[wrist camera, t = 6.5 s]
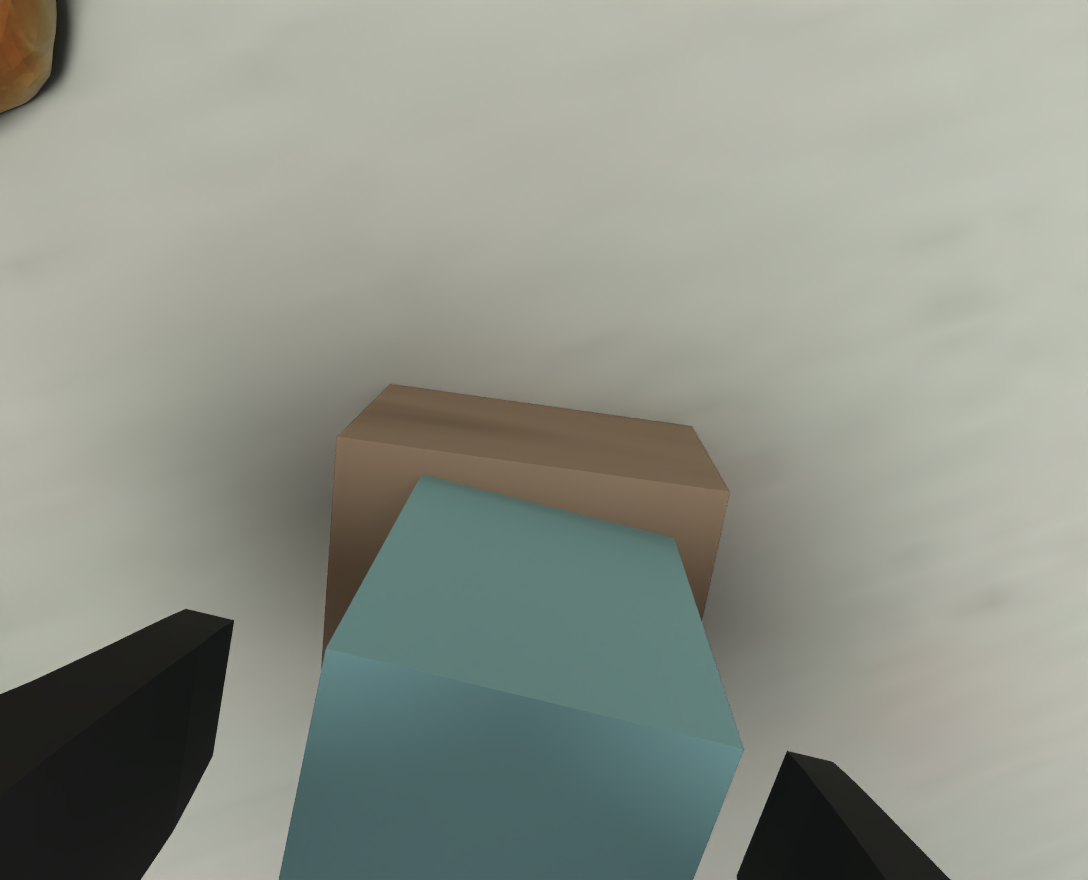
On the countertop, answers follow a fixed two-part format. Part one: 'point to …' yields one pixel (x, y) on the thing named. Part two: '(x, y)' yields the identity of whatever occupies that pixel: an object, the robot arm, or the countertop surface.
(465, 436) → the walnut block
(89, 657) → the robot arm
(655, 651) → the teal block
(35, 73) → the pastry
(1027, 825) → the countertop surface
